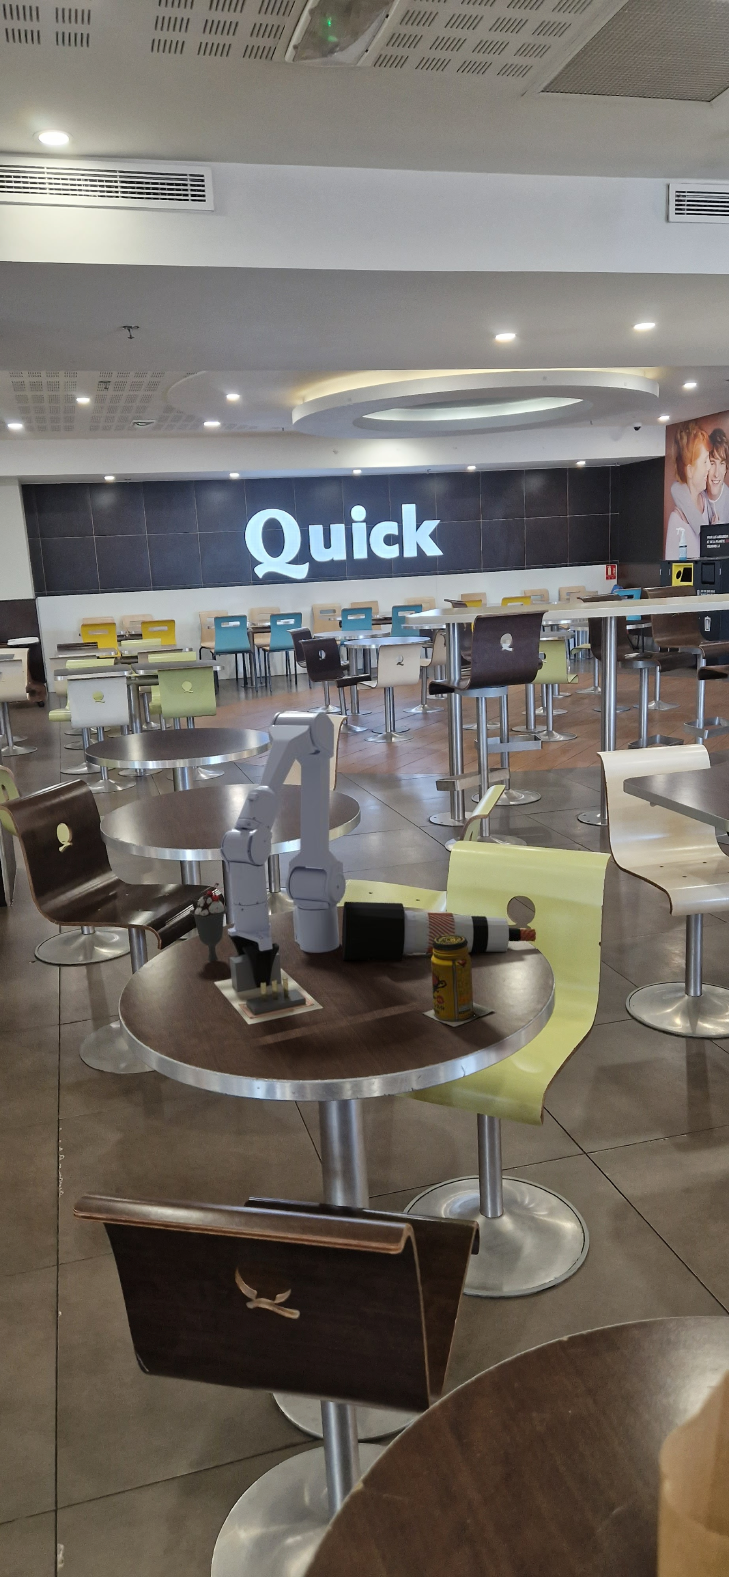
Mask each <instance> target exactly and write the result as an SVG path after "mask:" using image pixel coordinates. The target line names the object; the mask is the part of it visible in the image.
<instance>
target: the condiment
mask: <svg viewBox="0 0 729 1577" xmlns="http://www.w3.org/2000/svg"><path fill="white" fill-rule="evenodd" d="M467 944H468V941H467V939H466V938H465V937H463V936H460V935H442V936H439V937H436V938H435V939H434V940H433V953H432V956H431V958H430V963H431V964H430V967H431V968H430V969H431V981H432V982H431V983H432V984H431V986H432V987H431V988H432V1002H433V1005H432V1006H433V1008H432V1009H430V1010H428V1011H425V1012H422V1014H424V1015H425V1016H427V1017H429V1018H431V1019H434V1020H435V1021H438V1022H441V1023H442V1024H447V1025H449V1026H451V1027H458V1026H460V1025H463V1024H466V1023H468V1022H471V1021H473V1020H475V1019H477V1018H478V1017H483V1016H485V1015H487V1014H489V1013H491V1012H494V1011H495V1009H493V1008H489V1007H486V1006H483V1005H481V1004H479V1003H478V1004H477V1003H476V1002H474V994H473V992H474V991H473V990H474V989H473V974H472V973H473V972H472V957H471V955H470V954H469V952H468V946H467ZM474 1015H475V1016H474Z"/></svg>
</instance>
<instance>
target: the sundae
mask: <svg viewBox="0 0 729 1577" xmlns="http://www.w3.org/2000/svg"><path fill="white" fill-rule="evenodd" d="M218 886H220V883H219V882H215V884H214V885H213V887H211V889H210V890H208V891H207V892H206V894H205V895H204V894H203V895H202V896H200V898H199V899H198V900H197V899H193V898H191V899H190V902H191V905H192V908H193V909H190V910H189V914H190V915H192V916H193V917H194V921H195V925H196V929H197V934H198V938H199V941H201V943H202V944H204V945H205V946H207V948H208V957H207V961H209V962H215V961H218V960H219V957H218V956H217V953H216V952H217V951H216V946H217V945H218V944H219V943H220V942H221V940H222V939H223V935H224V934H223V933H224V917H225V914H226V913H228V907H227V905H225V904H223V902H222V901H220V900H219V899H220V897H219V895H217V894H216V888H217V887H218Z"/></svg>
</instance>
